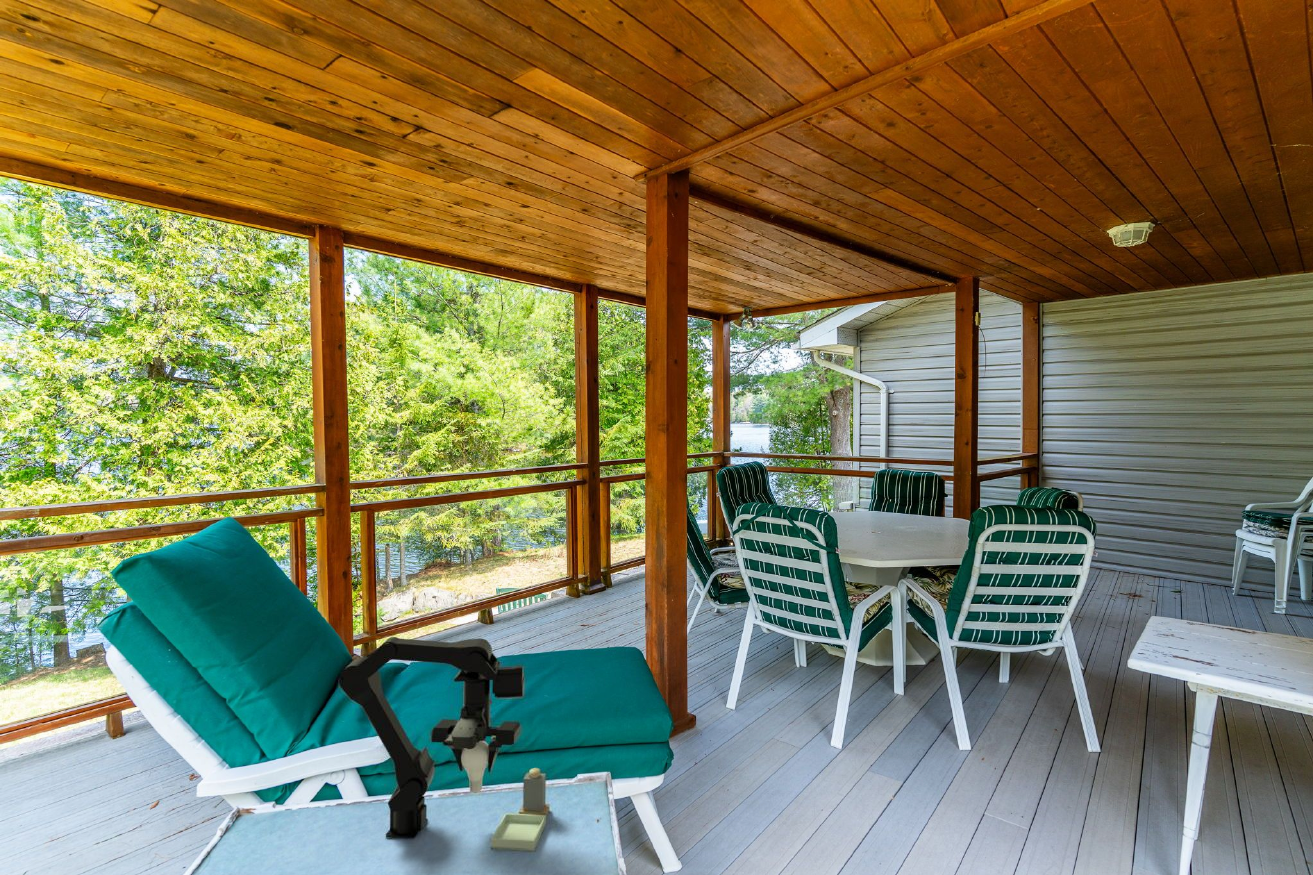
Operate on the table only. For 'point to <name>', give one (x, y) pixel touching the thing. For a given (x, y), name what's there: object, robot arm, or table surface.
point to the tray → (518, 832)
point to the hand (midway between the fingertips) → (476, 770)
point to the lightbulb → (475, 764)
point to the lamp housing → (534, 794)
